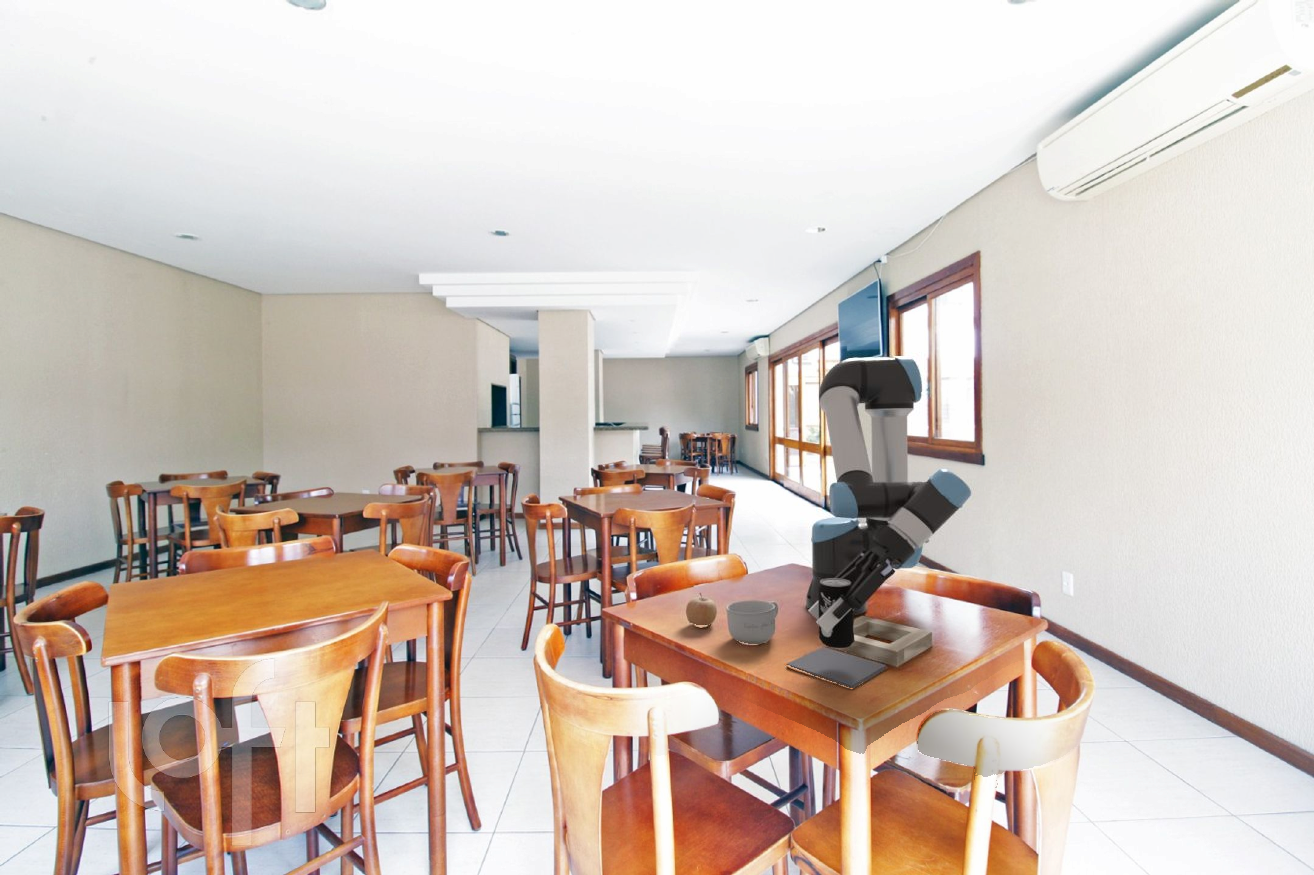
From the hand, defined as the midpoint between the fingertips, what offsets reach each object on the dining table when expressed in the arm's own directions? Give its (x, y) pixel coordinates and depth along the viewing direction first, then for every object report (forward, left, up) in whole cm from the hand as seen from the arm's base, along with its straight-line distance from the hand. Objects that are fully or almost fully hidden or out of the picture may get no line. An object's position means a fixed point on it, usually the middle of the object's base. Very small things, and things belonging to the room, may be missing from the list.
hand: (817, 621), depth 117 cm
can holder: (+2, +20, -9) cm, 22 cm away
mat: (+2, +3, -9) cm, 10 cm away
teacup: (-19, +5, -10) cm, 22 cm away
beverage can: (+3, +3, -4) cm, 6 cm away
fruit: (-34, +3, -10) cm, 35 cm away
